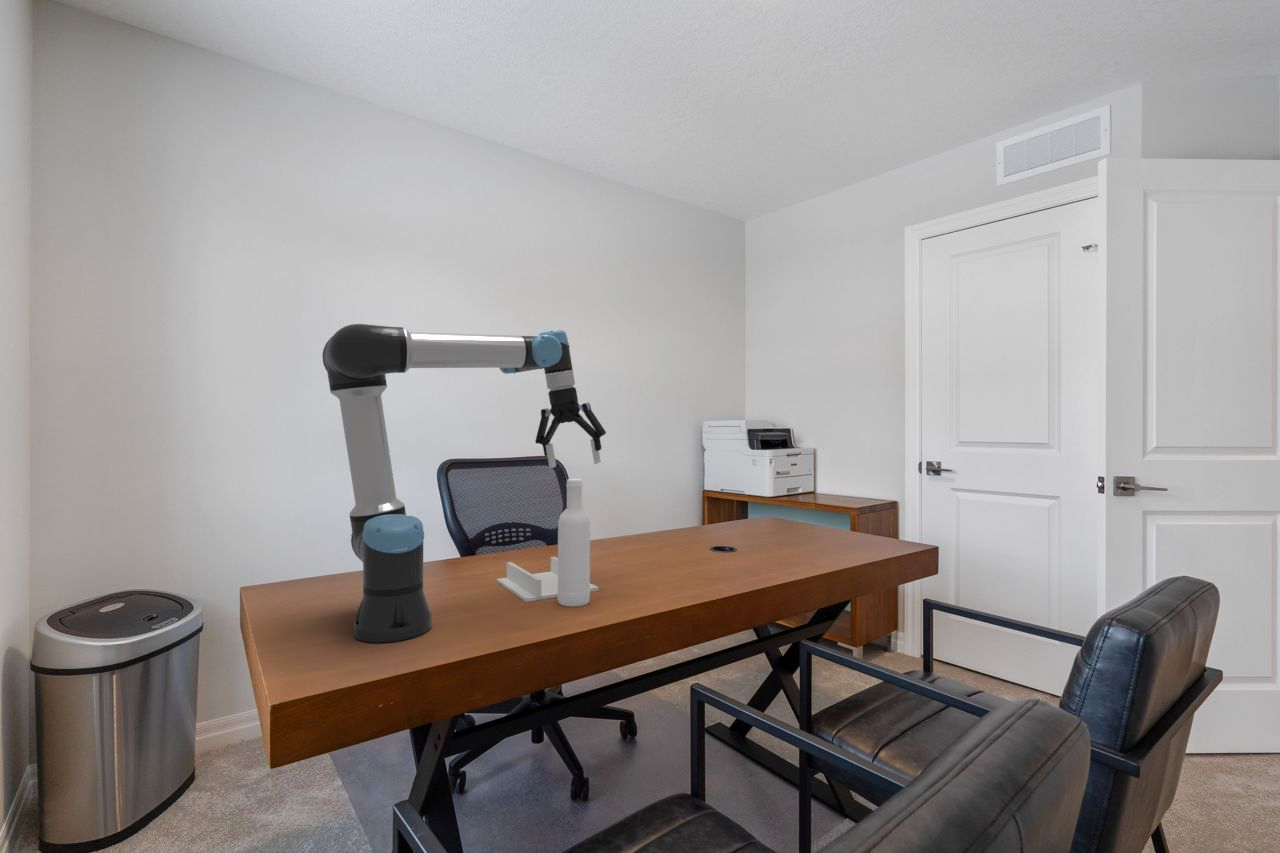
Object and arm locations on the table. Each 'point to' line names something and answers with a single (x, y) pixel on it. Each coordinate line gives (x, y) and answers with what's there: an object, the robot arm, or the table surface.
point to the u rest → (533, 582)
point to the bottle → (574, 549)
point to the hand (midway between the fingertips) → (574, 465)
